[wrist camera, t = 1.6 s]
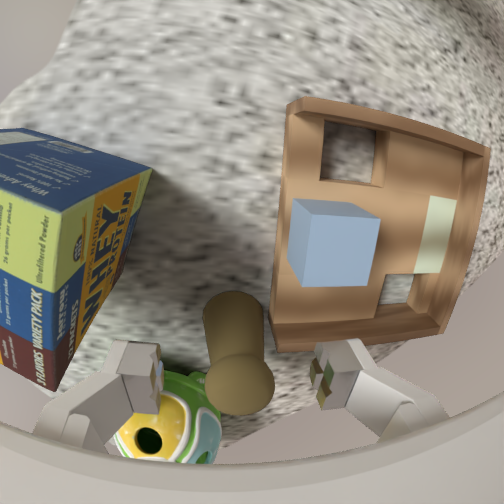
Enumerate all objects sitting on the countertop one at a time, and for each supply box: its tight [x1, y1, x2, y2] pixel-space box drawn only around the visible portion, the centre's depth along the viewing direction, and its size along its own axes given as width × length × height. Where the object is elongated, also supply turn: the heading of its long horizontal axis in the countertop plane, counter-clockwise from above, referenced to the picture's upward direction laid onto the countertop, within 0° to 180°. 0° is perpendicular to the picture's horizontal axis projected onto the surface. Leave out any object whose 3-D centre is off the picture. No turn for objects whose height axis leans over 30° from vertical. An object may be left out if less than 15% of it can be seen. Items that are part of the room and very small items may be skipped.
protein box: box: [0, 128, 152, 392], centre depth 15 cm, size 10×15×16 cm
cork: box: [203, 291, 275, 416], centre depth 24 cm, size 6×6×11 cm
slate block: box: [287, 198, 381, 287], centre depth 21 cm, size 5×5×5 cm
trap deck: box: [268, 96, 491, 353], centre depth 24 cm, size 20×19×6 cm
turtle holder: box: [114, 370, 222, 464], centre depth 26 cm, size 12×18×12 cm
